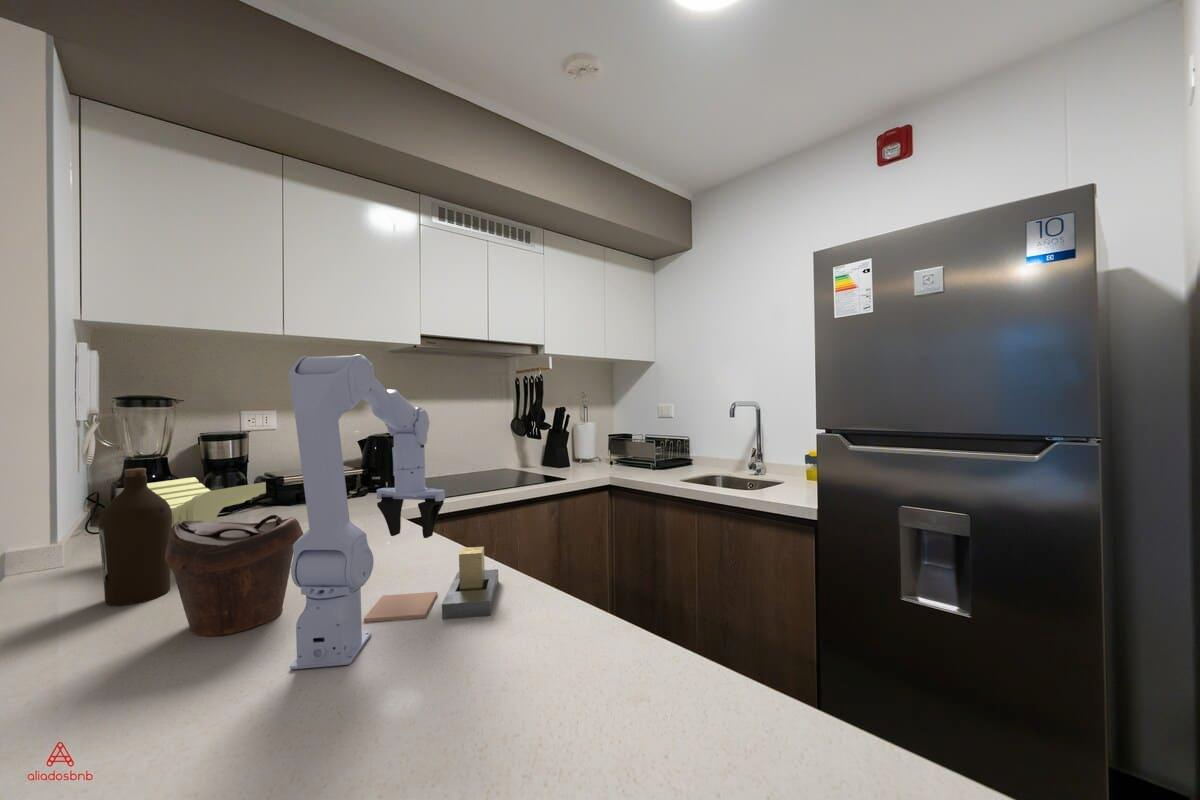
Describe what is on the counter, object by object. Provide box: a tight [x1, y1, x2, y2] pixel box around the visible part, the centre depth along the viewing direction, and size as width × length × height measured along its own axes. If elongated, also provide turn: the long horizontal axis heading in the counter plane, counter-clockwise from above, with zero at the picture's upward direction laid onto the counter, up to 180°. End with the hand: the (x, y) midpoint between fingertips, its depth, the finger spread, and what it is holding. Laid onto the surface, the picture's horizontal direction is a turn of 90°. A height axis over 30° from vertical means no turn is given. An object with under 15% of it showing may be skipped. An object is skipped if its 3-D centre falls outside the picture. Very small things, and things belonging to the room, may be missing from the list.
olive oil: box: [97, 467, 172, 606], centre depth 98 cm, size 11×11×25 cm
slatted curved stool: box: [147, 476, 267, 527], centre depth 124 cm, size 30×16×18 cm, turn 66°
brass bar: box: [458, 546, 486, 591], centre depth 93 cm, size 4×4×9 cm
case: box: [165, 514, 304, 637], centre depth 87 cm, size 18×20×18 cm
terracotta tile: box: [363, 591, 438, 623], centre depth 90 cm, size 10×10×1 cm
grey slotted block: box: [441, 569, 500, 620], centre depth 93 cm, size 16×8×2 cm, turn 7°
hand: (411, 535), depth 100 cm, fingers open, 7 cm apart
